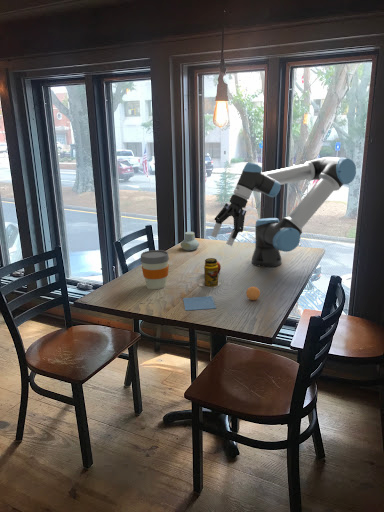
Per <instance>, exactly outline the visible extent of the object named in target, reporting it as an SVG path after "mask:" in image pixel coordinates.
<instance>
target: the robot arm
mask: <svg viewBox="0 0 384 512" xmlns="http://www.w3.org/2000/svg"><path fill="white" fill-rule="evenodd" d="M262 170H263V167H262V166H260V165H259V164H257V163H255V162H251V161H248V162H246V163H245V165H244V168H243V169H242V172H241V174H240V176H239V179H238V181H237V183H236V186H235V188H234V191H233V193H232V194H231V197H230V199H229V203H225V204H224V206H223V208H222V209H221V210H220V211H219V212H218V214H217V215H216V216H215V217H214V221H215V224H214V227H213V229H212V232H211V234H210V236H211V237H213V238H217V237H218V234H219V231H220V230H221V228H222V226H223V225H222V224H223V223H224V222H225V221H226V220H227V219H228V218H229V217H232V218H233V228H232V230H231V232H230V234H229V237H228V240H227V242H226V245H228V246H230V247H232V246H233V245H234V242H235V240H236V238H237V236H238V235H239V233H242V232H244V224H245V220H246V219H245V218H246V217H245V216H246V214H247V210H245V208H246V206H247V204H248V200H250V198H251V195H252V193H253V192H256V193H261V194H264V195H266V196H268V197H270V198H275V197H276V196H277V195H278V194H279V193H280V190H281V186H282V185H287V184H290V183H295V182H300V181H304V180H306V181H313V180H314V181H316V180H317V182H316V183H315V184H314V185H313V186H312V188H311V189H310V190H309V191H308V193H307V194H306V195H305V196H304V197H303V198H302V199H301V200H300V202H299V203H298V204H297V205H296V206H295V208H293V210H292V212H291V213H289V215H288V216H286V217H285V216H284V217H282V218H281V219H280V218H277V217H267V218H259V219H257V220H256V221H255V226H254V227H255V233H254V234H255V235H254V236H255V239H254V240H255V241H254V242H255V246H254V247H255V248H254V251H253V253H252V257H251V264H253V265H255V266H258V267H264V268H266V267H267V268H268V267H269V268H270V267H271V268H272V267H276V266H277V267H278V266H280V265H281V264H282V255H281V253H280V252H285V253H287V252H292V251H294V250H295V249H296V248H297V247H298V246H299V244H300V242H301V235H302V234H303V228H304V227H305V225H307V223H308V221H309V220H311V218H312V217H313V216H314V215H315V214H316V212H317V211H318V210H319V208H321V206H322V205H323V204H324V203H326V200H328V198H329V197H330V196H331V194H332V193H333V192H335V191H339V190H340V189H341V188H342V187H343V185H348V184H350V183H352V182H353V181H354V179H355V178H356V176H357V166H356V163H355V162H354V160H353V159H351V158H348V157H347V158H346V157H334V156H325V157H320V158H316V159H312V160H308V161H305V162H304V164H297V165H293V166H289V167H284V168H280V169H278V168H277V169H275V170H269V171H264V172H262Z"/></svg>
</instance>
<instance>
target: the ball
mask: <svg viewBox="0 0 384 512" xmlns="http://www.w3.org/2000/svg"><path fill="white" fill-rule="evenodd" d="M245 294H246V297H247V299H248V300H250V301H256V300H258V299H259V298H260V295H261V290H260V289H259V288H258V287H257V286H249V287H248V289H246V292H245Z"/></svg>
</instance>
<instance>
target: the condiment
mask: <svg viewBox="0 0 384 512" xmlns="http://www.w3.org/2000/svg"><path fill="white" fill-rule="evenodd" d="M217 261H218V259H216V258H214V257H208V258H206V259H204V265H203V266H204V267H203V268H204V269H203V270H204V271H203V272H204V280H203V281H202V282H200V283H199V284H198V285H197V286H198V287H203V288H204V287H205V288H209V289H216V288H218V286H220V285H221V284H222V282H219V274H218V265H217ZM204 285H205V286H204Z"/></svg>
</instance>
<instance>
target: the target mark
mask: <svg viewBox="0 0 384 512" xmlns="http://www.w3.org/2000/svg"><path fill="white" fill-rule="evenodd" d="M182 299H183V304H184V310H185V311H187V312H188V311H201V310H212V309H217V306H216V304H215V301H214V298H213V296H212V295H206V296H195V297H193V296H191V297H183V298H182Z"/></svg>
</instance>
